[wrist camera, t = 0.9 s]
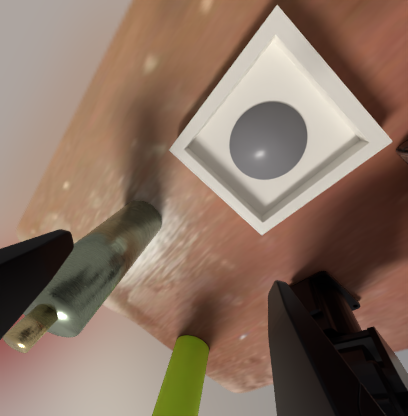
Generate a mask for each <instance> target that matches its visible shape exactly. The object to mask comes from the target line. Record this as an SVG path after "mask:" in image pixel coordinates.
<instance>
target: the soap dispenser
mask: <svg viewBox="0 0 408 416" xmlns="http://www.w3.org/2000/svg"><path fill="white" fill-rule="evenodd" d="M208 354H209V348H208V346H207V344H206V343H205V342H204V341H202V340H201V339H199V338H197V337H194V336H189V335H184V336H180V337H179V338H178V339H177V340H176V343H175V346H174V349H173V353H172V356H171V359H170V362H169V365H168V368H167V371H166V375H165V378H164V380H163V383H162V386H161V390H160V393H159V396H158V399H157V402H156V405H155V408H154V411H153V414H152V416H198V411H199V405H200V400H201V394H202V388H203V383H204V377H205V371H206V365H207V360H208Z"/></svg>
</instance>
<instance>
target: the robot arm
mask: <svg viewBox="0 0 408 416" xmlns="http://www.w3.org/2000/svg"><path fill="white" fill-rule="evenodd" d="M73 248H74V243H73V239H72V235H71V232H69V231H66V230H62V229H60V230H56V231H53V232H50V233H47V234H44V235H41V236H38V237H35V238H32V239H29V240H26V241H23V242H20V243H17V244H14V245H11V246H8V247H5V248H1V249H0V340H1V338H2V337H3V336H4V335H5V334H6V333H7V332H8V330H9V329H10V328H11V327H12V326H13V324H14V323H15V322H16V321H17V320H18V319H19V318H20V316H21V315H22V314H23V313H24V312H25V311H26V309H27V308H28V307H29V306H30V305H31V304H32V302H33V301H34V300H35V299H36V298H37V297H38V296H39V294H40V293H41V292H42V291H43V290H44V289H45V287H46V286H47V285H48V284H49V283H50V281H51V280H52V279H53V277H54V276H55V275H56V273H57V272H58V270H59V269H60V268H61V266H62V265H63V263H64V262H65V261H66V259H67V258H68V256H69V255H70V254H71V252H72V251H73ZM323 275H325V276H323ZM358 308H360V304H359V302H358V301H357V300H356V299H355V298H354V297H353V296H352V295H351V294H350V293H349V292H348V291H346V290H345V289H344V288H343V287H342V286H341V285H340V284H339V283H338V282H337V281H336V280H335V279H334V278H333V277H332V276H331V275H330V274H328V273H327V272H326V271H321V272H319V273H317V274H315V275H313V276H311V277H309V278H307V279H305V280H303V281H301V282H299V283H297V284H296V285H294V286H292V287H289V285H288V284H287V283H286V282H283V281H278V280H276V281H275V282H274V284H273V286H272V288H271V290H270V291H269V294H268V337H269V347H270V356H271V365H272V374H273V383H274V392H275V401H276V409H277V416H408V373H407V372H406V370H405V369H404V367H403V365H402V364H401V362H400V361H399V359H398V357H397V356H396V355H395V353H394V352H393V351H392V349H391V348H390V347H389V346H388V344H387V343H386V342H385V340H384V339H383V338H382V336H381V335H380V334H379V333H378V331H377V330H376V329H375V327H370V328H367V330H363V331H362V330H361V328H360V326H359V324H358V322H357V320H356V318H355V316H354V314H353V312H352V311H353V310H356V309H358Z"/></svg>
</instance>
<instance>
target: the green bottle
mask: <svg viewBox="0 0 408 416" xmlns="http://www.w3.org/2000/svg"><path fill="white" fill-rule="evenodd" d="M160 228H161V217H160V215H159V213H158V211H157V210H156V209H155V208H154V207H153V206H152V205H151V204H149V203H147V202H144V201H139V200H136V201H132V202H130V203H129V204H127V205H126V206H124V207H123V208H122V209H120V210H119V211H118V212H116V213H115V214H114V215H112V216H111V217H110V218H108V219H107V220H106V221H104V222H103V223H102V224H100V225H99V226H98V227H96V228H95V229H94V230H92V231H91V232H90V233H88V234H87V235H86V236H84V237H83V238H82V239H80V240H79V241H78V242H76V243H75V244H74V248H73V251H72V252H71V254H70V255H69V256H68V258H67V259H66V261H65V262H64V263H63V265H62V266H61V268H60V269H59V270H58V272H57V273H56V275H55V276H54V277H53V279H52V280H51V281H50V283H49V284H48V285H47V286H46V287H45V289H44V290H43V291H42V292H41V293H40V294H39V296H38V297H37V298H36V299H35V300H34V301H33V302H32V304H31V305H30V306H29V307H28V308H27V309H26V311H25V312H24V313H23V314H24V315H25V317H24V318H23V319H21V320H20V322H18V323H17V324H16V325H15V326H14V327H13V328H12V329H11V330H9V331H8V332H7V333H6V334H5V335H4V336H3V339H4V341H5V342H6V343H7V344H8V345H9V346H10V347H12V348H13V349H15V350H17V351H19V352H23V353H27V352H28V351H29V350H30V349H31V348H32V347H33V346H34V344H35V343H36V342H37V341H38V340H39V339H40V338H41V337H42V336H43V335H44V334H45V333H46V332H50V333H52V334H55V335H58V336H62V337H75V336H77V335H78V334H79V333H80V332H81V331H82V330H83V328H84V327H85V326H86V324H87V323H88V322H89V320H90V319H91V318H92V317H93V315H94V314H95V313H96V311H97V310H98V309H99V308H100V306H101V305H102V304H103V302H104V301H105V300H106V299H107V297H108V296H109V295H110V293H111V292H112V291H113V289H114V288H115V287H116V286H117V284H118V283H119V282H120V280H121V279H122V278H123V277H124V275H125V274H126V273H127V271H128V270H129V269H130V267H131V266H132V265H133V264H134V262H135V261H136V260H137V258H138V257H139V256H140V255H141V253H142V252H143V251H144V249H145V248H146V247H147V246H148V244H149V243H150V242H151V240H152V239H153V238H154V236H155V235H156V234H157V233H158V231H159V230H160Z"/></svg>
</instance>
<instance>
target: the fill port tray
mask: <svg viewBox="0 0 408 416" xmlns="http://www.w3.org/2000/svg"><path fill="white" fill-rule="evenodd" d="M391 142H393V141H392V140H391V139H390V138H389V136H388V135H387V134H386V133H385V132H384V131H383V129H382V128H381V127H380V126H379V125H378V123H377V122H376V121H375V120H374V119H373V118H372V116H371V115H370V114H369V113H368V112H367V110H366V109H365V108H364V107H363V106H362V105H361V103H360V102H359V101H358V100H357V99H356V97H355V96H354V95H353V94H352V93H351V92H350V90H349V89H348V88H347V87H346V86H345V84H344V83H343V82H342V81H341V80H340V78H339V77H338V76H337V75H336V74H335V73H334V71H333V70H332V69H331V68H330V67H329V65H328V64H327V63H326V62H325V61H324V60H323V58H322V57H321V56H320V55H319V54H318V52H317V51H316V50H315V49H314V48H313V47H312V45H311V44H310V43H309V42H308V41H307V39H306V38H305V37H304V36H303V35H302V34H301V32H300V31H299V30H298V29H297V28H296V26H295V25H294V24H293V23H292V22H291V20H290V19H289V18H288V17H287V16H286V15H285V13H284V12H283V11H282V10H281V9H280V7H279V6H278V5H277V6H276V7H275V8H274V10H273V11H272V12H271V14H270V15H269V16H268V18H267V19H266V20H265V22H264V23H263V24H262V26H261V27H260V28H259V30H258V31H257V32H256V34H255V35H254V36H253V38H252V39H251V40H250V42H249V43H248V45H247V46H246V47H245V49H244V50H243V51H242V53H241V54H240V55H239V57H238V58H237V59H236V61H235V62H234V63H233V65H232V66H231V67H230V69H229V70H228V71H227V73H226V74H225V75H224V77H223V78H222V79H221V81H220V82H219V83H218V85H217V86H216V87H215V89H214V90H213V91H212V93H211V94H210V95H209V97H208V98H207V100H206V101H205V102H204V104H203V105H202V106H201V108H200V109H199V110H198V112H197V113H196V114H195V116H194V117H193V118H192V120H191V121H190V122H189V124H188V125H187V126H186V128H185V129H184V130H183V132H182V133H181V134H180V136H179V137H178V138H177V140H176V141H175V142H174V144H173V145H172V146H171V148H170V149H169V151H170V152H171V153H173V154H174V155H175V156H176V157H177V158H178V159H179V160H180V161H181V162H182V163H183V164H184V165H186V166H187V167H188V168H189V169H190V170H191V171H192V172H193V173H194V174H195V175H196V176H198V177H199V178H200V179H201V180H202V181H203V182H204V183H205V184H206V185H207V186H208V187H210V188H211V189H212V190H213V191H214V192H215V193H216V194H217V195H218V196H219V197H220V198H222V199H223V200H224V201H225V202H226V203H227V204H228V205H229V206H230V207H231V208H232V209H234V210H235V211H236V212H237V213H238V214H239V215H240V216H241V217H242V218H243V219H244V220H245V221H247V222H248V223H249V224H250V225H251V226H252V227H253V228H254V229H255V230H256V231H257V232H259V233H260V234H261V235H263V234H265V233H266V232H267V231H269V230H270V229H271V228H273V227H274V226H276V225H277V224H278V223H280V222H281V221H283V220H284V219H285V218H287V217H288V216H290V215H291V214H292V213H294V212H295V211H297V210H298V209H299V208H301V207H302V206H304V205H305V204H306V203H308V202H309V201H311V200H312V199H313V198H315V197H316V196H318V195H319V194H320V193H322V192H323V191H325V190H326V189H327V188H329V187H330V186H331V185H333V184H334V183H336V182H337V181H338V180H340V179H341V178H343V177H344V176H345V175H347V174H348V173H350V172H351V171H352V170H354V169H355V168H357V167H358V166H359V165H361V164H362V163H364V162H365V161H366V160H368V159H369V158H371V157H372V156H373V155H375V154H376V153H378V152H379V151H380V150H382V149H383V148H385V147H386V146H387V145H389V144H390V143H391Z"/></svg>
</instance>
